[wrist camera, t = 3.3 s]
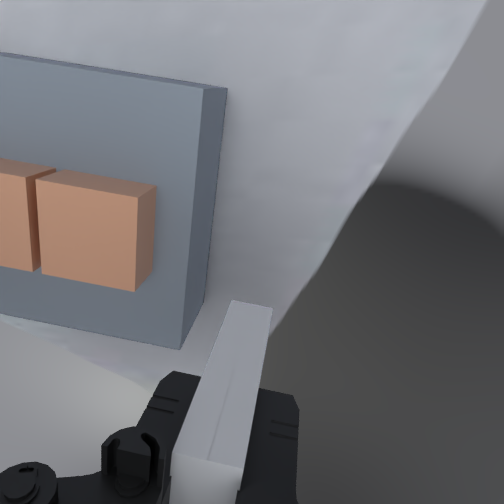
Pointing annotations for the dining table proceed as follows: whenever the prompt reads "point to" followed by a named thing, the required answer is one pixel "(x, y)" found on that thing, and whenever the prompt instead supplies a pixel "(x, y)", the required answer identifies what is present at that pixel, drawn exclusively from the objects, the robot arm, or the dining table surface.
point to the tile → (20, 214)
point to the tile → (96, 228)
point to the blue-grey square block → (126, 168)
